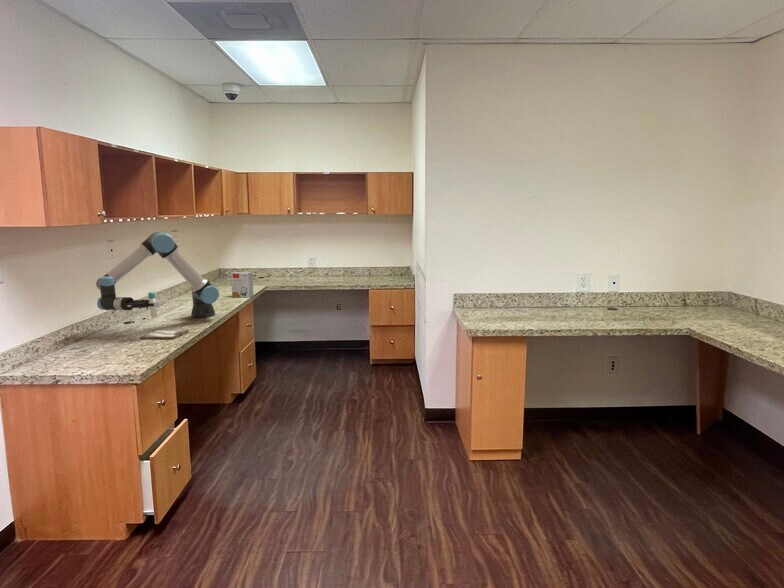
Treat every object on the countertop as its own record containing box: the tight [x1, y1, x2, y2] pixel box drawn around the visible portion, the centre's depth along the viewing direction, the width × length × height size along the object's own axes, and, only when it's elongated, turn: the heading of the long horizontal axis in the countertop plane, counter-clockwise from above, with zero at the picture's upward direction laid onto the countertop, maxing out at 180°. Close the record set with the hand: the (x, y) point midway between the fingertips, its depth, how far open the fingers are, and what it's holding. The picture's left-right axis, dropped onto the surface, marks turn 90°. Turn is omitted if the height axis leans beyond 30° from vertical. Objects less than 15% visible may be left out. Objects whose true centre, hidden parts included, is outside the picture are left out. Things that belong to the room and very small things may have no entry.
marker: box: [147, 291, 158, 318], centre depth 287 cm, size 3×3×14 cm
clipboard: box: [139, 329, 190, 340], centre depth 286 cm, size 16×20×2 cm
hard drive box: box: [230, 271, 255, 299], centre depth 405 cm, size 16×8×20 cm, turn 77°
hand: (161, 303), depth 286 cm, fingers closed on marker, 3 cm apart
